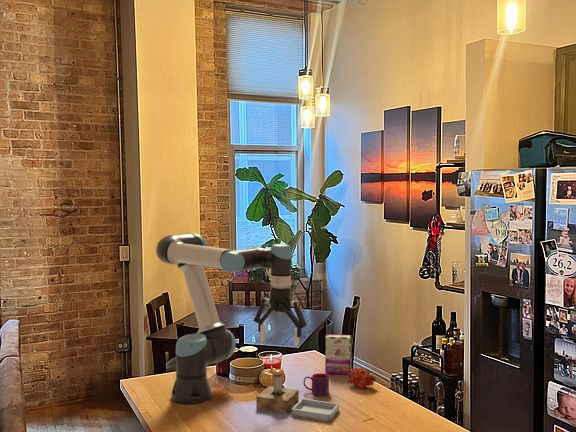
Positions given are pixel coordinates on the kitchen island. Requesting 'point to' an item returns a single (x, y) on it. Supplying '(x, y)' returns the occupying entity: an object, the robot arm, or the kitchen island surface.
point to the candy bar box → (338, 354)
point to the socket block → (277, 400)
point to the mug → (319, 384)
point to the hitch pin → (278, 381)
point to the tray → (315, 410)
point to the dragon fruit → (360, 378)
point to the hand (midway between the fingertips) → (279, 343)
